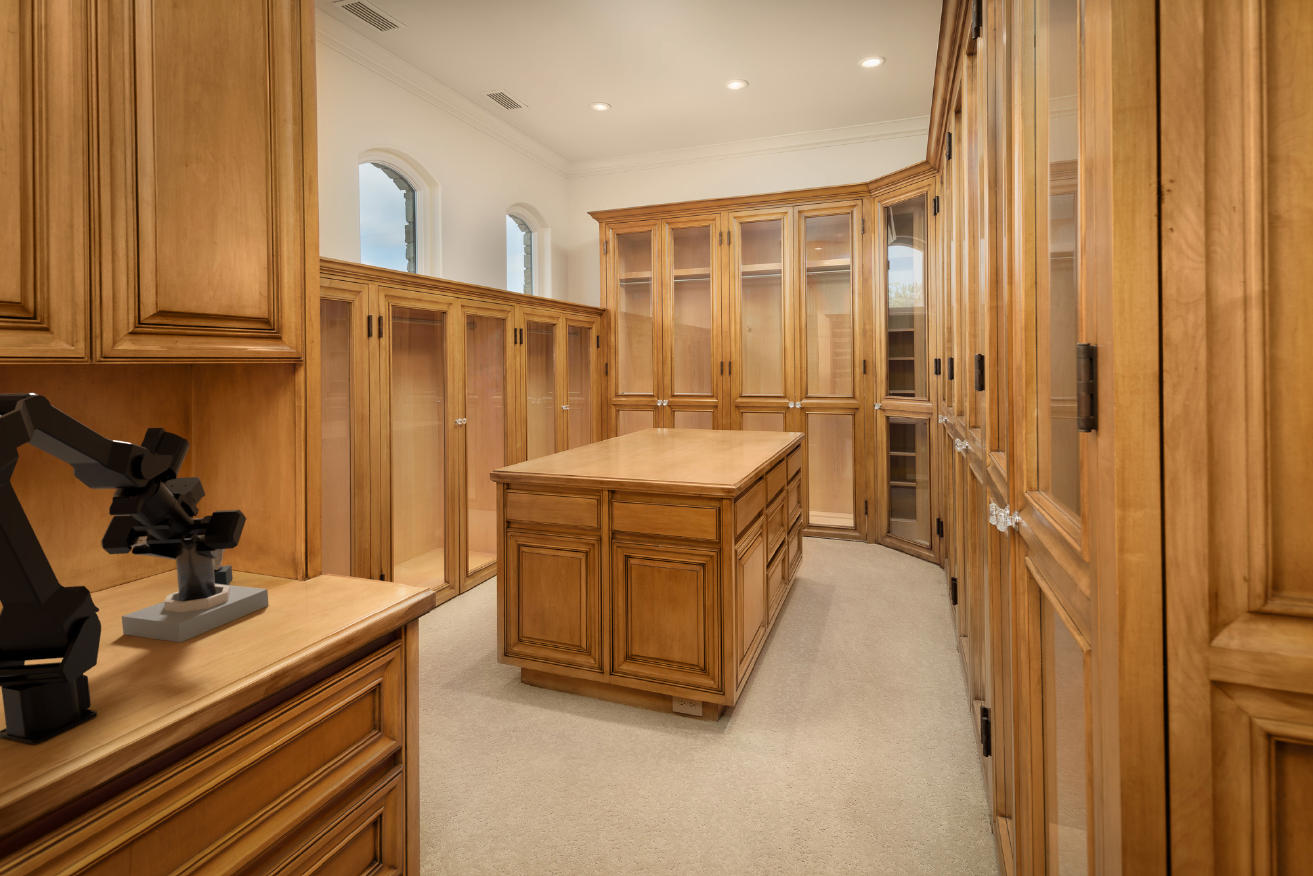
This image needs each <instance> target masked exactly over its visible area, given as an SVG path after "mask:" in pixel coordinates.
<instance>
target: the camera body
mask: <svg viewBox="0 0 1313 876" xmlns="http://www.w3.org/2000/svg"><path fill="white" fill-rule="evenodd" d="M215 589H216V595H213V596H211V597H208V598H204V599H197V600H191V601H180V600H179V590H178V591H176V592H172V593H169V594H167V596H166V597H165V599H164V601H162V602H158V603H156V604H153V605H150V606H147V607H144V608H141V609H139V610H136V611H132V612H130V613H127V614H125V615H122V616H121V625H122V634H123V635H125V636H133V637H139V638H147V639H152V640H160V641H161V640H162V641H167V642H175V643H182V642H185V641H187V640H189V639H192V638H195V637H197V636H199V635H200V636H201V634H204V633H207V632H209V631H212V630H214V629H216V628H218V627H221V626H223V625H226V624H228V623H230V622H232V621H235V620H237V619H240V618H243V617H244V616H247V615H249V614H251V613H254V612H256V611H258V610H261V609H263V608H265V607H268V606H269V605H270V603H269V594H268V593H269V591H268V588H260V587H258V588H257V587H250V586H240V585H232V584H229V585H223V584H215Z"/></svg>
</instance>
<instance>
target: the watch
mask: <svg viewBox="0 0 1313 876" xmlns="http://www.w3.org/2000/svg"><path fill="white" fill-rule="evenodd" d="M224 553H226V549H218V556H217V558H215V559H214V558H213V564H214V577H215V584H223V585H230V584H231V583H232V582H233V581H232V579H233V580H234V578H233V567H232V566H233V565H232V564H229V565H228V564H227V565H222V563H223V557H224ZM231 581H232V582H231ZM230 582H231V583H230ZM229 583H230V584H229Z"/></svg>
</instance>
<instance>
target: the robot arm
mask: <svg viewBox="0 0 1313 876" xmlns="http://www.w3.org/2000/svg"><path fill="white" fill-rule="evenodd" d="M25 444H29V445H31V446H33V447H35V448H37V449H39V450H41V451H43V452H45V453H46V454H48V455H51V456H53V457H55V458H57V459H58V460H61V461H63V462H65V463H66V464H69V465H70V466H71V467H72V468H73V473H72V474H73V476H74V477H75V478H76V479H77V480H79V481H81V483H82V484H84V485H86V487H88V488H89V489H92V490H111V489H112V490H113V489H114V492H113V497H112V498H111V499H112V501H111V503H110V506H109V508H108V509H109V513H108V514H109V515H110V516H113V517H112V518H111V519H110V521H109V523H108V525H107V527H106V530H105V532H104V534H103V536H102V538H101V540H100V545H101V548H102V549H103V550H104V551H105V552H106V553H108V554H109V555H122V554H123V555H124V554H125V555H126V554H130V552H131V553H132V555H135V556H136V555H137V556H147V557H155V558H156V557H157V558H160V559H161V558H162V559H168V560H175V561H176V555H175V544H174V543H181V542H183V541H184V540H189V539H192V538H193V536H194V535H197V534H198V535H197V536H198V537H199V538H200V542H199V544H198V547H197V550H196V551H197V552H199V553H201V554H204V555H206V556H208V557H211V558H214V559H215V558H217V556H218V549H225V550H227V549H234V548H235V547H237V546H238V545H239V542H240V540H241V537H242V533H243V530H244V527H245V523H246V522H247V517H246V516H245V514H244V513H243V512H242V511H241V510H240V509H228V510H226V509H225V510H224V509H222V510H215V511H213V512H212V514H211V515H206V516H203V517H202V518H203V519H198V520H193V519H194V518H193V517H197V516H198V513H199V511H200V509H199V507H198V506H197V505H198V504H199V502H200V501H201V500H202V498H204V497H205V496H206V491H205V489H204V487H203V484H202V481H201V478H200V477H195V476H193V477H190V476H189V477H188V476H187V477H178V475H179V472H180V470H181V468H182V466H183V463H184V461H185V458H186V456H187V454H188V451H189V449H190V443H189V440H187V439H186V438H183V437H182V436H180V435H178V434H177V433H173V432H170V431H166V430H165V429H164V427H148V428H147V429H146V432H145V434H144V437H143V440H142V442H141V444H140V445H139V444H136V443H131V442H127V441H121V440H114V439H110V438H108V437H105V436H103V435H102V434H100V433H98V432H97V431H95V430H93V429H91V428H90V427H88V426H87V425H86V424H83V423H82V422H80V421H78V420H77V419H75V418H73V417H72V416H71V415H69V414H67V413H66V412H64V411H62V410H60V408H59V409H58V408H57V407H56V406H54V405H53V404H51V402H50V401H49V399H48V398H47V397H45V396H44V395H40V394H38V393H34V392H19V393H18V392H17V393H16V392H12V393H10V392H7V393H0V603H1V606H2V608H1V611H0V688H1V695H2V704H3V710H4V712H3V713H4V719H5V728H3V729H1V730H0V738H2V739H8V740H10V741H11V740H12V741H17V742H21V743H25V744H30V745H36V744H39V743H40V744H41V742H44V741H47V740H48V739H50V738H52V737H55V736H57V735H59V734H61V733H62V732H65V731H67V730H70V729H72V728H74V727H76V726H77V725H81V724H82V723H85V722H86V721H89V720H91V719H93V718H96V717H97V716H98V711H97V710H93V709H91V707H92V703H91V695H90V694H91V693H90V683H89V677H88V675H85V673H87V672H88V671H89V670H91V669H92V668H94V667H95V666H96V665H97V663H98V656H99V650H100V642H101V635H102V624H101V621H100V619H99V615H98V614H97V613H99V612H100V608H98V606H96V605H95V603H94V601H93V599H92V594H91V591H90V590H89V589H88V588H87V587H86V586H85V585H77V586H76V585H75V586H64V585H62V584H61V583H60V582H59V580H58V578H57V576H56V574H55V572H54V570H53V568H52V566H51V564H50V562H49V560H48V557H47V555H46V553H45V551H44V549H43V547H42V545H41V543H40V541H39V538H38V537H37V534H36V532H35V530H34V529H33V527H32V524H31V523H30V520H29V518H28V517H27V514H26V512H25V511H24V507H23V506H22V504H21V501H20V500H19V498H18V495H17V493H16V492H15V489H14V488H13V486H12V482H11V478H12V476H13V473H14V471H15V468H16V466H17V463H18V461H19V458H20V454H19V452H18V448H19V447H21V446H22V445H25ZM51 659H52V660H53V659H62V660H61V661H60V662H59V661H58V662H46V663H45V662H44V663H31V664H25V663H26V661H40V660H51Z"/></svg>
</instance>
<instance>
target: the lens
mask: <svg viewBox="0 0 1313 876" xmlns="http://www.w3.org/2000/svg"><path fill="white" fill-rule="evenodd" d="M203 518H204V517H200V518H199V517H196V518H193V520H198V519H203ZM197 535H198V534H197ZM197 535H194V536H193V538H192V539H189V540H184V541H183V542H181V543H174V544H175V555H176V560H175V564H176V576H177V577H176V578H177V585H178V587H177V589H178V591H179V600H180V601H191V600H197V599H204V598H208V597H211V596H213V595H216V589H215V577H214V564H213V558H211V557H208V556H206V555H204V554H201V553H199V552H197V551H196V550H197V547H198V544H199V542H200V538H199V537H198V536H197Z"/></svg>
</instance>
